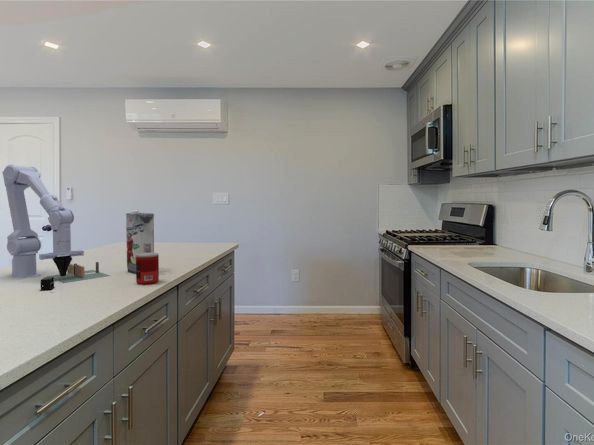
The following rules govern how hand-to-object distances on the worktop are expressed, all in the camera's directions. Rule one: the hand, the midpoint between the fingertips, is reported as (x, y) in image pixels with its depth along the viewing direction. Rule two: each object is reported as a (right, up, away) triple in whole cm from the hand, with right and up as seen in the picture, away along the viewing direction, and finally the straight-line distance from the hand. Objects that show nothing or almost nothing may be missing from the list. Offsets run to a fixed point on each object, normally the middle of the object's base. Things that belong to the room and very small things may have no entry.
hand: (62, 275), depth 135 cm
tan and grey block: (+1, 0, +12) cm, 12 cm away
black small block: (+5, -3, -15) cm, 16 cm away
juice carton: (+23, -1, +16) cm, 28 cm away
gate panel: (+4, -1, +4) cm, 6 cm away
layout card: (+3, -1, +5) cm, 6 cm away
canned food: (+34, -2, -3) cm, 34 cm away
